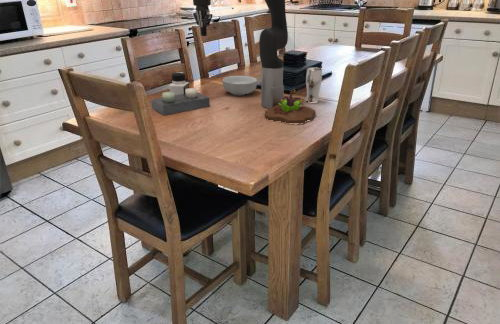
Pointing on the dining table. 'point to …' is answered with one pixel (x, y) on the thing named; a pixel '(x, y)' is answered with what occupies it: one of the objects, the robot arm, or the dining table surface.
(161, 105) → the mount
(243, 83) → the cereal bowl
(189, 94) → the whitish grey jar
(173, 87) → the medicine bottle
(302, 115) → the plant
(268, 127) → the dining table surface
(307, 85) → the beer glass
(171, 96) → the knob
